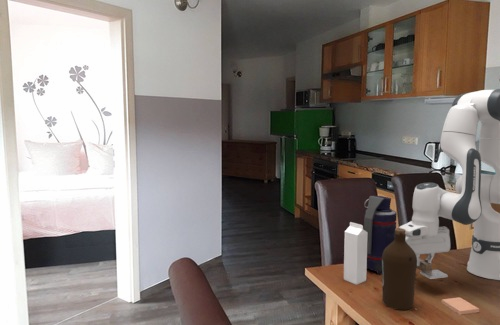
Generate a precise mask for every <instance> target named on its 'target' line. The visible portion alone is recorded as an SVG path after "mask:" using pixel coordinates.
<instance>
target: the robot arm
mask: <svg viewBox="0 0 500 325" xmlns="http://www.w3.org/2000/svg"><path fill="white" fill-rule="evenodd" d="M479 122H480V125H481V126H480V131H479V141H478V150H477V146H476V137H477V132H478V123H479ZM439 142H440V148H441V150H442V153H444V155H445V156H447V157H448V158H449V159H451V160H453V161H455V162H456V163H457V164H458V165H459V166H460V168H461V171H462V174H461V175H459V177H458V178H457V179H456V182H455V192H456V193H455V192H453V191H448V190H446V189H443V188H441V187H440V186H439V184H437V183H435V182H423V183H419V184H417V185H416V186H415V187H414V192H413V196H412V210H413V212H412V216H411V220H410V221H409V222H406V223H404V224H402V225H400V226H399V227H398V228H401V229H405V230H406V232H405V234H406V239H405V241H406V243H407V244H408V245H409V246H410V247H411V248H412V249H413V250H414V252H415V254H416V257H417V266H422V261H420V260H419V258H421V255H427V257H426V258H424V260H425V261H427V262H429V263H431V264H432V260H433V259H434V257H435V254H436V253H437V254H439V253H440V254H441V253H447V252H448V253H449V251H450V250H451V236H450V228H448V227H447V226H443V225H442V226H440V220H439V217H441V218H444V219H448V220H450V221H454V222H456V223H459V224H461V225H463V226H464V225H465V226H468V225H471V224H473V234H472V235H471V248H470V253H469V254H470V255H469V259H468V261H467V264H466V265H467V267H466V270H467V271H468V272H469V273H470V274H472V275H475V276H478V277H480V278H485V279H489V280H495V281H500V212H498V211H496V210H495V209H494V208H493V207H492V204H496V205H500V88H497V89H482V90H477V91H472V92H463V93H461V94H459V95H457V96H456V97H455V98H454V99H453V101H452V104H451V107H450V109H449V110H448V112H447V115H446V117H445V119H444V124H443V127H442V131H441V134H440V140H439ZM482 163H484V164H485V165H487V166H489V167H491V168H492V169H493V170H494V172H495V173H494V174H487V173H482ZM418 257H419V258H418Z"/></svg>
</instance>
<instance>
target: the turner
mask: <svg viewBox="0 0 500 325" xmlns="http://www.w3.org/2000/svg"><path fill="white" fill-rule="evenodd" d="M418 258H419V260H420V261H422V266H417V267H416V269H418V270H419V271H420V273H419V274H421V275H423V276H424V277H426V278H428V279H430V280H432V279H442V278H448V277H449V276H448V275H449V274H447V273H445V272H443V271H441V270H439V269H433V263H432V262H431V263H429V262H427V261H425V259H423V258H421V257H418Z"/></svg>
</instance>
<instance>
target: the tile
mask: <svg viewBox="0 0 500 325" xmlns="http://www.w3.org/2000/svg"><path fill="white" fill-rule="evenodd" d="M441 304H442V305H443V306H446V307H447V308H449V309H450V310H452V312H455V313H456V314H458V315H461V316H462V315H468V314H470V315H471V314H476V313H479V312H480V308H479V307H477V306H476V305H474V304H472V303H470V301H469V302H468V301H467V300H465V299H463V297H459V296H458V297H451V298H445V299H444V298H442V299H441Z"/></svg>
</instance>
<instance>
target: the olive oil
mask: <svg viewBox="0 0 500 325" xmlns="http://www.w3.org/2000/svg"><path fill="white" fill-rule="evenodd" d="M405 232H406V230H405V229H401V228H399V227H398V228H397V227H396V229H395V240H394V241H393V242H392V243H391V244H389V245H388V246H387V247H386V248H385V249H384V251H383V254H382V274H381V275H382V303H383V304H384V305H385V306H386V307H389V308H391V309H393V310H394V309H395V310H401V311H403V310H404V311H405V310H410V309H412V308H413V306H414V297H415V286H416V276H417V275H416V274H417V268H416V267H417V257H416V254H415V252H414V250H413V249H412V248H411V247H410V246H409V245H408V244H407V243H406V241H405V239H406V234H405Z"/></svg>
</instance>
